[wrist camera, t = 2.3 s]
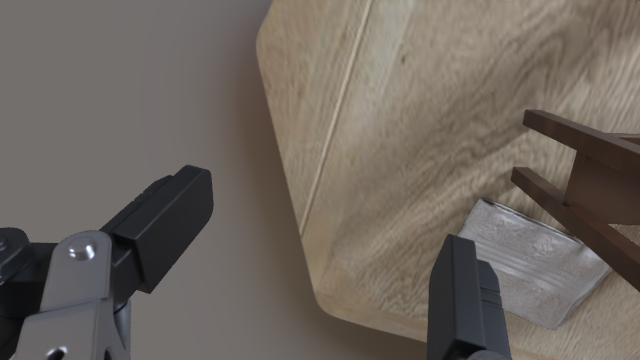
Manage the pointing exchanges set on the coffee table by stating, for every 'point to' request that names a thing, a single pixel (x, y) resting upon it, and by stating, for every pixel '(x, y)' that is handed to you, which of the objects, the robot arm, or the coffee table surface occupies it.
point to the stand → (592, 189)
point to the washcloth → (533, 263)
